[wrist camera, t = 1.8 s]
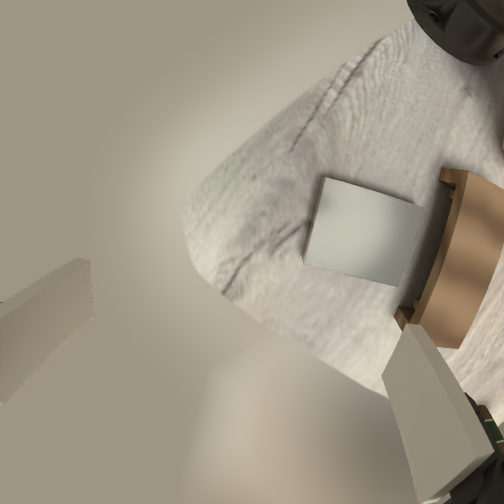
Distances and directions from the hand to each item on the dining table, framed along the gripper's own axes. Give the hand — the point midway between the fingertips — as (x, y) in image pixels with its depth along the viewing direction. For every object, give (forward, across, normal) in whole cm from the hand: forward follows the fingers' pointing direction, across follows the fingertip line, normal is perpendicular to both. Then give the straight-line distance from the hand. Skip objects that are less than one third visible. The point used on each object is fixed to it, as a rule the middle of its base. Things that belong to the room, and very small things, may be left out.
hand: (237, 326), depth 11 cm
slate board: (+21, +10, +1) cm, 24 cm away
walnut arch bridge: (+21, +22, 0) cm, 30 cm away
